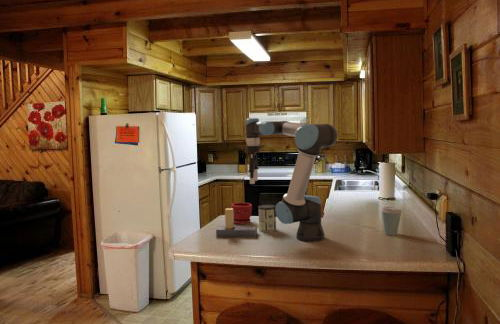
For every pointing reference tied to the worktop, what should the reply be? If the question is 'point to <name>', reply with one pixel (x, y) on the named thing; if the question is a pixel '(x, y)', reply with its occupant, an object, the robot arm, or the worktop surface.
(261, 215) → the coffee can
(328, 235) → the worktop surface
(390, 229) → the disposable coffee cup
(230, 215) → the brass peg
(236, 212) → the plant pot
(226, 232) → the grey flat block
